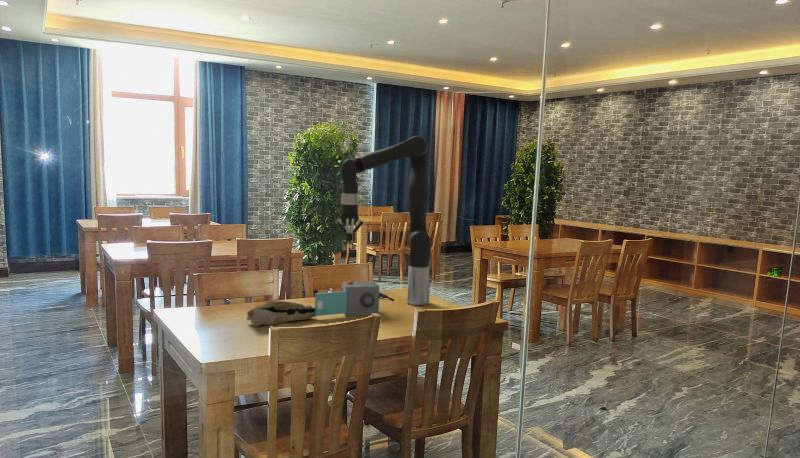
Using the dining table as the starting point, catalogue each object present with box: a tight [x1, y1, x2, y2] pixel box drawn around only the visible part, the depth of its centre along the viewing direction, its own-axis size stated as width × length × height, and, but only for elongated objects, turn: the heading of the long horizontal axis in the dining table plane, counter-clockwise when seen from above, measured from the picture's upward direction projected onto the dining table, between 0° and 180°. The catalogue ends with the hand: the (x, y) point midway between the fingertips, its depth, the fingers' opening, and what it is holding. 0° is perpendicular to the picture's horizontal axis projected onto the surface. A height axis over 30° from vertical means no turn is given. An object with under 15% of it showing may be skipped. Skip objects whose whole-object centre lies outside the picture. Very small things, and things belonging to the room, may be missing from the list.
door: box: [314, 290, 347, 317], centre depth 220 cm, size 2×13×9 cm, turn 118°
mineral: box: [246, 300, 316, 328], centre depth 213 cm, size 26×9×10 cm
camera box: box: [341, 280, 380, 317], centre depth 229 cm, size 14×12×13 cm
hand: (349, 241), depth 251 cm, fingers closed
